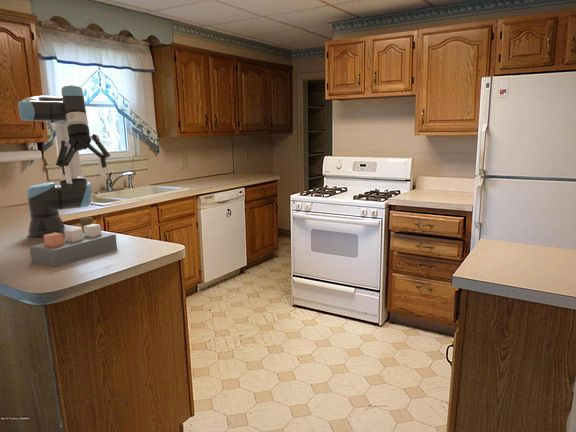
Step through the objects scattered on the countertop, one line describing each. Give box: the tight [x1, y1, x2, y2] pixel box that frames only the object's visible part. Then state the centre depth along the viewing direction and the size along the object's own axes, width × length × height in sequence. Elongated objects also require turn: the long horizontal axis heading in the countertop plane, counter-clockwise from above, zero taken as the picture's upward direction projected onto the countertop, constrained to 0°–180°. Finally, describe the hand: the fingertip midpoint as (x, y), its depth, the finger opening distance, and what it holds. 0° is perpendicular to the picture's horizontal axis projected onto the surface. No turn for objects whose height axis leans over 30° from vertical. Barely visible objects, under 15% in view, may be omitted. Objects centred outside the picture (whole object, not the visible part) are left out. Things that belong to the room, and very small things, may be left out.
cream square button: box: [83, 223, 102, 237], centre depth 169 cm, size 4×4×4 cm
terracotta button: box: [43, 233, 64, 247], centre depth 155 cm, size 4×4×4 cm
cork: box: [79, 216, 94, 233], centre depth 182 cm, size 6×6×11 cm
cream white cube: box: [64, 227, 83, 242], centre depth 162 cm, size 4×4×4 cm
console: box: [29, 231, 118, 268], centre depth 163 cm, size 14×26×6 cm, turn 151°
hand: (86, 179), depth 164 cm, fingers open, 13 cm apart
